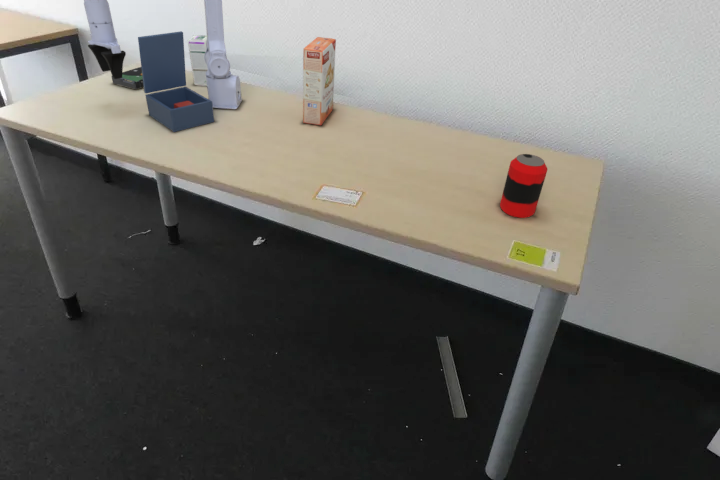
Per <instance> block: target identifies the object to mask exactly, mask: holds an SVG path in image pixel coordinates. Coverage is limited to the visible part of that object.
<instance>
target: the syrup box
mask: <svg viewBox="0 0 720 480" xmlns="http://www.w3.org/2000/svg"><path fill="white" fill-rule="evenodd" d="M187 45H188V46H187V47H188V54H189V59H190V65H191V73H192V78H193V79H192V80H193V84H194V86H201V87H207V81H206V71H207V70H208V68H207V64H206V62H205V59H204V55H205V52H206V50H207V35H203V34H202V35H201V34H198V35H192V36H191V37H190V38H189V39H187Z"/></svg>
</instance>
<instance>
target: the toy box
mask: <svg viewBox="0 0 720 480" xmlns="http://www.w3.org/2000/svg"><path fill="white" fill-rule="evenodd" d="M145 101H146V106H147V111H148V116H149V117H151V118H153V119H154V120H155V121H157V122H158V123H159V124H161V125H163V126H164V127H166V128H167V129H169V130H170V131H171V132H173V133H177V132H180V131H184V130H189V129H192V128H195V127H199V126H204V125H208V124H211V123H214V122H215V117H214V108H213V106H212V101H211V100H209V98H207V97H206V96H203V95H201V94H200V93H198V92H196V91H195V90H193V89H191V88H189V87H188V86H181V87H176V88H171V89H166V90H161V91H156V92H151V93H145ZM184 101H190V102H192V103H193V104H192V105H188V106H183V107H179V108H175V109H174V104H175V103H180V102H184Z"/></svg>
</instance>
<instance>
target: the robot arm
mask: <svg viewBox="0 0 720 480" xmlns="http://www.w3.org/2000/svg"><path fill="white" fill-rule="evenodd" d="M203 4H204V16H205V17H204V18H205V30H206V31H205V32H206V36H207V50H206V52H205V55H204V59H205V62H206V64H207V68H208V70H207V71H206V81H207V86H206V88H207V95H208V98H207V99H209V100H211V101H212V106H213V109H224V110H237V109H238V108H239V107H240V105H241V103H242V101H243V98H242V89H241V88H242V87H241V79H240V76H239V75H235V74H232V72H231V62H230V60H229V59H228V57H227V56H228V55H227V48H226V44H225V43H226V42H225V32H224V29H225V28H224V14H223V12H224V11H223V0H203ZM83 6H84V10H85V11H84V12H85V15H86V19H87V23H88V27H89V31H90V34H89V35H90V40H87V43H88V44H87V47H88V48H89V49H90V51H91V52H92V54H93V55H94V57H95V60H96V61H97V64H98V65H99V67H100V70H101V71H102V72H109V71H110V73H111V76H113V78H114V79H118V78H122V72H124V71H123V67H124V61H125V58H126V54H127V53H126V51H125V50H121V47H120V46H121V45H120V44H119V42H118V38H117V36H116V32H115V26H114V22H113V17H112V13H111V8H110V3H109V1H108V0H83Z"/></svg>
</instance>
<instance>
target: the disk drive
mask: <svg viewBox="0 0 720 480" xmlns="http://www.w3.org/2000/svg"><path fill="white" fill-rule="evenodd" d="M111 81H112V84H115V85H117V86H122V87H125V88H129V89H132V90H139V89H141V88H144V85H143V77H142V68H141V66H140V67H139V66H138V67H135V68H133V69H129V70H126V71H122V78H118V79H114V78H113V76H112V75H111Z"/></svg>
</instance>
